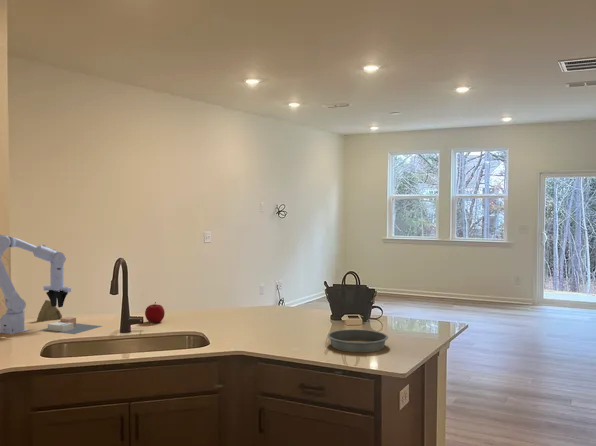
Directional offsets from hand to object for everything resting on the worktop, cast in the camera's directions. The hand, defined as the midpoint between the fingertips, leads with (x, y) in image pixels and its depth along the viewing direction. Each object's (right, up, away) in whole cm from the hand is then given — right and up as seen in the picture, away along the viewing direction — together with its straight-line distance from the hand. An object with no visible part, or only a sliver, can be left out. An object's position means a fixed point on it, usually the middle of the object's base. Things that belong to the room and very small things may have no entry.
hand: (57, 306), depth 260 cm
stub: (+6, -9, -2) cm, 11 cm away
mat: (+9, -10, -5) cm, 14 cm away
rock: (-10, -9, +15) cm, 20 cm away
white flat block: (+5, -9, -8) cm, 13 cm away
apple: (+42, -10, +13) cm, 45 cm away
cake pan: (+136, -12, -32) cm, 140 cm away
